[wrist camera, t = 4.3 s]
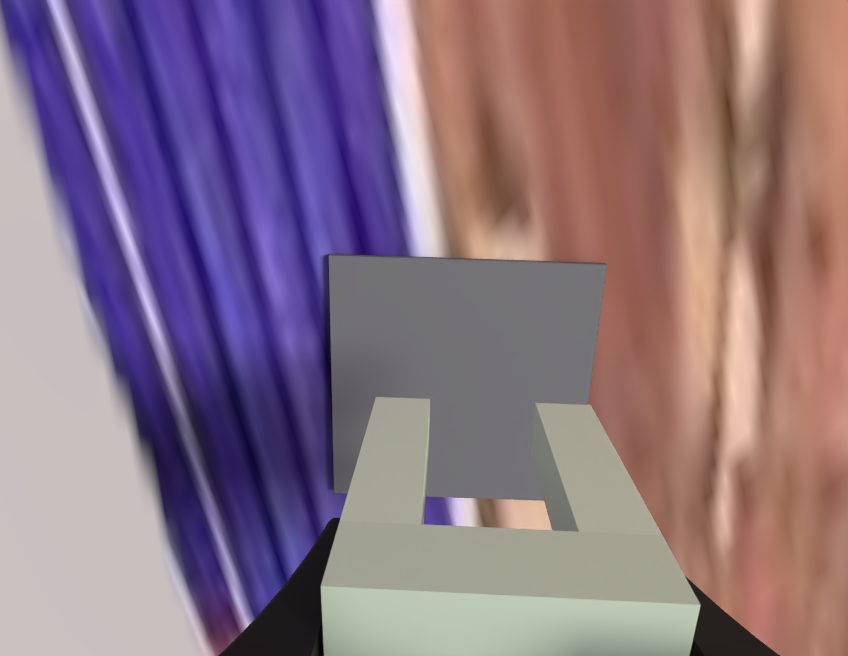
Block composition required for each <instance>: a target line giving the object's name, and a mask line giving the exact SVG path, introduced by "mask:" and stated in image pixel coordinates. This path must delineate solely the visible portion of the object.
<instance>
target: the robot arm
mask: <svg viewBox="0 0 848 656" xmlns="http://www.w3.org/2000/svg"><path fill="white" fill-rule="evenodd" d="M339 522H340V518H333V519H331V520H330V521H329V522H328V524H327V525H326V527H325V529H324V530H323V532H322V534H321V535H320V537H319V538H318V540H317V541H316V543H315V544H314V546H313V547H312V549H311V550H310V552H309V553H308V554H307V556H306V557H305V559H304V560H303V561H302V563H301V564H300V565H299V567H298V568H297V569H296V571H295V572H294V573H293V575H292V576H291V577H290V579H289V580H288V581H287V582H286V584H285V585H284V586H283V587H282V589H281V590H280V591H279V592H278V593H277V594H276V596H275V597H274V598H273V599H272V600H271V602H270V603H269V604H268V605H267V606H266V607H265V609H264V610H263V611H262V612H261V613H260V614H259V615H258V616H257V618H256V619H255V620H254V621H253V622H252V623H251V624H250V625H249V626H248V627H247V628H246V629H245V630H244V631H243V632H242V633H241V634H240V635H239V636H238V637H237V638H236V639H235V640H234V641H233V642H232V643H231V644H230V645H229V646H228V647H227V648H226V649H225V650H224V651H223V652H222V653H221V654H220V655H219V656H324V647H323V625H322V604H321V583H322V580H323V577H324V573H325V570H326V566H327V563H328V559H329V556H330V553H331V549H332V546H333V542H334V539H335V535H336V532H337V529H338V525H339ZM685 577H686V576H685ZM686 579H687V581H688V583H689V585H690V586H691V588H692V590H693V592H694V594H695V596H696V597H697V599H698V601H699V603H700V605H701V606H700V610H699V615H698V619H697V624H696V628H695V633H694V637H693V642H692V646H691V651H690V655H689V656H780V655H778V654H777V653H776V652H774V651H773V650H771V649H770V648H769V647H767V646H766V645H765V644H764V643H762V642H761V641H760V640H758V639H757V638H756V637H755V636H753V635H752V634H751V633H750V632H748V631H747V630H746V629H745V628H744V627H742V626H741V625H740V624H739V623H738V622H736V621H735V620H734V619H733V618H732V617H730V616H729V615H728V614H727V613H726V612H724V611H723V610H722V609H721V608H720V607H719V606H718V605H716V604H715V603H714V602H713V601H712V600H711V599H710V598H709V597H707V596H706V595H705V594H704V593H703V592H702V591H701V590H700V589H699V588H697V587H696V586H695V585H694V584H693V583H692V582H691V581H690V580H689V579H688V578H687V577H686Z"/></svg>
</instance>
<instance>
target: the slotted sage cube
mask: <svg viewBox="0 0 848 656" xmlns="http://www.w3.org/2000/svg"><path fill="white" fill-rule="evenodd" d="M429 421H430V399H418V398H392V397H376V399H375V402H374V405H373V409H372V412H371V416H370V419H369V423H368V426H367V429H366V433H365V436H364V440H363V443H362V446H361V450H360V453H359V457H358V460H357V464H356V467H355V470H354V474H353V477H352V481H351V484H350V488H349V491H348V494H347V498H346V501H345V505H344V508H343V512H342V515H341V518H340V522H339V525H338V529H337V532H336V535H335V539H334V542H333V546H332V549H331V553H330V556H329V559H328V563H327V566H326V570H325V573H324V577H323V580H322V583H321V604H322V625H323V647H324V656H689V655H690V651H691V646H692V642H693V637H694V633H695V628H696V624H697V619H698V615H699V610H700V606H701V605H700V603H699V601H698V599H697V597H696V596H695V594H694V592H693V590H692V588H691V586H690V585H689V583H688V581H687V579H686V577H685V576H684V574H683V572H682V570H681V568H680V566H679V565H678V563H677V561H676V559H675V557H674V556H673V554H672V552H671V550H670V548H669V547H668V545H667V543H666V541H665V539H664V537H663V536H662V534H661V532H660V530H659V528H658V527H657V525H656V523H655V521H654V519H653V517H652V516H651V514H650V512H649V510H648V508H647V507H646V505H645V503H644V501H643V499H642V497H641V496H640V494H639V492H638V490H637V488H636V487H635V485H634V483H633V481H632V479H631V477H630V476H629V474H628V472H627V470H626V468H625V467H624V465H623V463H622V461H621V459H620V457H619V456H618V454H617V452H616V450H615V448H614V447H613V445H612V443H611V441H610V439H609V437H608V436H607V434H606V432H605V430H604V428H603V427H602V425H601V423H600V421H599V419H598V417H597V416H596V414H595V412H594V410H593V408H592V407H591V405H578V404H551V403H535V413H534V424H533V435H532V446H531V453H532V457H533V460H534V464H535V468H536V471H537V475H538V479H539V482H540V486H541V490H542V494H543V497H544V501H545V505H546V508H547V512H548V516H549V519H550V523H551V527H552V530H531V529H509V528H487V527H465V526H443V525H424V511H425V496H426V481H427V466H428V451H429Z"/></svg>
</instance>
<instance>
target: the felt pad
mask: <svg viewBox="0 0 848 656" xmlns="http://www.w3.org/2000/svg"><path fill="white" fill-rule="evenodd" d="M606 269H607V264H605V263H584V262H555V261H525V260H496V259H466V258H436V257H407V256H377V255H348V254H330V255H329V290H330V333H331V377H332V421H333V464H334V493H342V494H348V491H349V488H350V484H351V481H352V477H353V474H354V470H355V467H356V464H357V460H358V457H359V453H360V450H361V446H362V443H363V440H364V436H365V433H366V429H367V426H368V423H369V419H370V416H371V412H372V409H373V405H374V402H375V399H376V397H392V398H418V399H430V421H429V451H428V466H427V481H426V496H428V497H457V498H485V499H514V500H543V501H544V497H543V494H542V490H541V486H540V482H539V479H538V475H537V471H536V468H535V464H534V460H533V457H532V453H531V446H532V435H533V424H534V413H535V403H551V404H578V405H588V400H589V392H590V385H591V378H592V371H593V363H594V356H595V349H596V342H597V334H598V327H599V320H600V313H601V305H602V298H603V291H604V284H605V276H606Z"/></svg>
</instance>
